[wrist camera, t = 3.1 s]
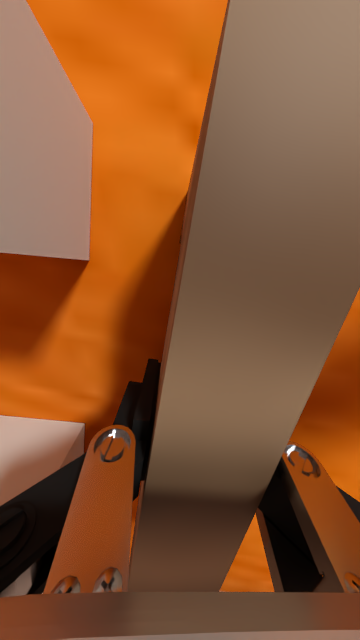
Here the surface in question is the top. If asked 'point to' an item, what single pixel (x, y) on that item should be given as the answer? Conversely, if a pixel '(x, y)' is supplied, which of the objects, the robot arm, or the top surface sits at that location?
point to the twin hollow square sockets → (39, 209)
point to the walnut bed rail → (252, 281)
